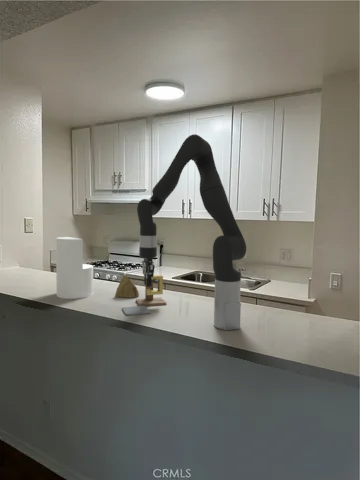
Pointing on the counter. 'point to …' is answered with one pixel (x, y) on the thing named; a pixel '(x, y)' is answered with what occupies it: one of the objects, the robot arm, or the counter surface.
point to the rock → (126, 288)
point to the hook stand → (150, 298)
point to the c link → (160, 286)
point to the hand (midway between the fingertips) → (147, 285)
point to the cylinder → (72, 269)
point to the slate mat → (135, 310)
